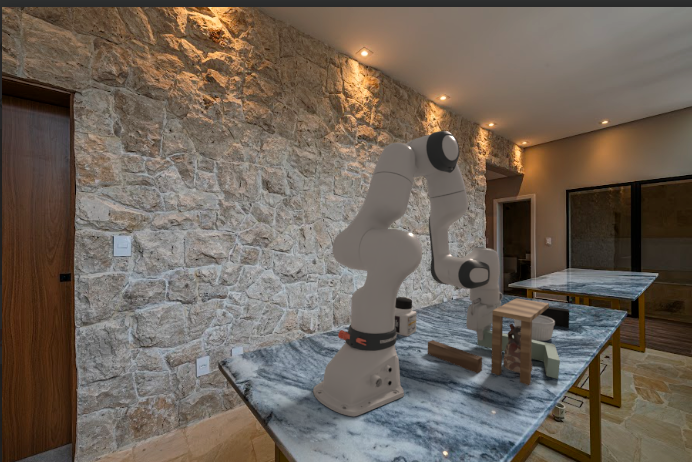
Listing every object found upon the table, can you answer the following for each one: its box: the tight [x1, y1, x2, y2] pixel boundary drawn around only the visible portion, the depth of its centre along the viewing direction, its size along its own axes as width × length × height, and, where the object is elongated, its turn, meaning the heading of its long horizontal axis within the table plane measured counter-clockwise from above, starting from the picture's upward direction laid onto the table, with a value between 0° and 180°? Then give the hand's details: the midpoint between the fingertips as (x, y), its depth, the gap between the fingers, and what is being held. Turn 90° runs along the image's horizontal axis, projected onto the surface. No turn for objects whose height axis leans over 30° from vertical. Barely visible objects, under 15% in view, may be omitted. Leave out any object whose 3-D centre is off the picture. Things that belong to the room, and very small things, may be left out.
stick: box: [427, 340, 483, 374], centre depth 88 cm, size 3×16×4 cm, turn 40°
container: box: [394, 296, 417, 337], centre depth 114 cm, size 8×8×13 cm
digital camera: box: [540, 306, 570, 328], centre depth 127 cm, size 10×5×7 cm, turn 58°
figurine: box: [502, 323, 533, 374], centre depth 85 cm, size 7×7×12 cm
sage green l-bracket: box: [476, 329, 561, 380], centre depth 90 cm, size 13×21×5 cm, turn 60°
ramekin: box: [513, 315, 555, 342], centre depth 112 cm, size 13×13×7 cm
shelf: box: [490, 297, 550, 386], centre depth 86 cm, size 22×9×17 cm, turn 135°
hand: (483, 337), depth 99 cm, fingers closed on sage green l-bracket, 3 cm apart
